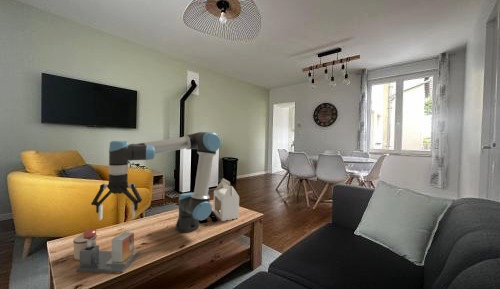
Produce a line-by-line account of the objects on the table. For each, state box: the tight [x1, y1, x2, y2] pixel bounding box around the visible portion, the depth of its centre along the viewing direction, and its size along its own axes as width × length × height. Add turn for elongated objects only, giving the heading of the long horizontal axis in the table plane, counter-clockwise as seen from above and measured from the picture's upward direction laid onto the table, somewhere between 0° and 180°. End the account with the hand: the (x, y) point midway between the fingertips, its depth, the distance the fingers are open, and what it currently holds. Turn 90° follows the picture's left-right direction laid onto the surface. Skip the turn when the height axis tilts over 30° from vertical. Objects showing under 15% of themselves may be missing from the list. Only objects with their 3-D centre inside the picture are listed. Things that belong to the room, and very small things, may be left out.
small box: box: [111, 231, 135, 262], centre depth 98 cm, size 8×6×10 cm
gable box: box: [212, 178, 240, 222], centre depth 162 cm, size 22×13×28 cm, turn 27°
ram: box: [82, 228, 97, 250], centre depth 94 cm, size 5×5×10 cm
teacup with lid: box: [73, 233, 97, 261], centre depth 104 cm, size 12×9×12 cm
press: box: [76, 244, 140, 274], centre depth 97 cm, size 20×14×8 cm
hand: (117, 218), depth 97 cm, fingers open, 13 cm apart
